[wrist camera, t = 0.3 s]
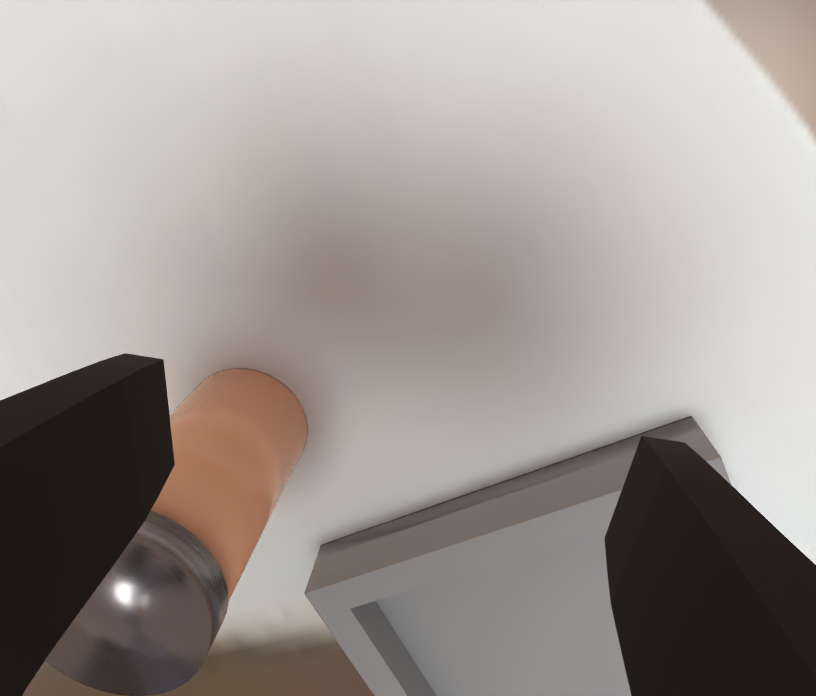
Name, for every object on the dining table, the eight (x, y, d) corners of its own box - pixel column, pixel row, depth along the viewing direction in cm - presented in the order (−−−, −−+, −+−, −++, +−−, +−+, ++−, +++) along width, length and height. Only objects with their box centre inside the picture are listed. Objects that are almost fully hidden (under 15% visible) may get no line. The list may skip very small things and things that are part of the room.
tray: (472, 777, 28) (472, 838, 25) (321, 545, 23) (304, 593, 21) (799, 706, 24) (835, 770, 22) (691, 416, 20) (720, 457, 17)
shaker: (230, 493, 23) (91, 714, 14) (162, 394, 21) (-34, 576, 13) (332, 452, 22) (246, 667, 13) (268, 345, 20) (127, 511, 12)
